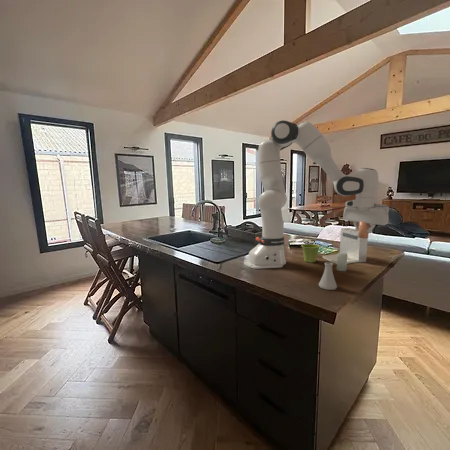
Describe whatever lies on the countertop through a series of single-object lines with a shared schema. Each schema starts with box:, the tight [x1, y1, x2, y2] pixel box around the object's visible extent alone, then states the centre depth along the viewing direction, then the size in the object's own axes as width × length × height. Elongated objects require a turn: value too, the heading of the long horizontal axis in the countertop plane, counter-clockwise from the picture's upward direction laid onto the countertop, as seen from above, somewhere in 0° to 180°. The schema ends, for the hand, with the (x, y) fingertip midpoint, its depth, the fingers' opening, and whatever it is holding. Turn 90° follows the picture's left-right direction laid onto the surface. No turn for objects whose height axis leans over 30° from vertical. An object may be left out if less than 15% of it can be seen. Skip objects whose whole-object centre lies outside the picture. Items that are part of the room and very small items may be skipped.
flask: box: [318, 261, 338, 291], centre depth 104 cm, size 7×7×10 cm
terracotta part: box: [358, 221, 370, 239], centre depth 123 cm, size 4×4×8 cm
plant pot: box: [301, 243, 320, 264], centre depth 139 cm, size 9×9×9 cm
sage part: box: [336, 252, 348, 272], centre depth 124 cm, size 4×4×8 cm
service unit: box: [322, 227, 369, 265], centre depth 140 cm, size 18×14×16 cm
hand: (363, 231), depth 123 cm, fingers closed on terracotta part, 4 cm apart
